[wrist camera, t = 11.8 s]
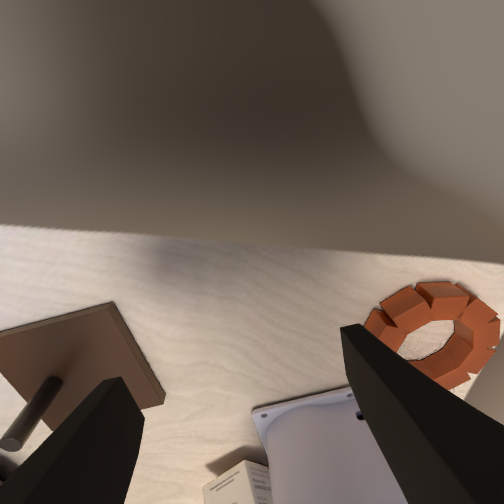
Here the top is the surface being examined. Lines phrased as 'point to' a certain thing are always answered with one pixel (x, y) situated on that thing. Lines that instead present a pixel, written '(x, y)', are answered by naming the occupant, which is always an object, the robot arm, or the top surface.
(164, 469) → the top surface
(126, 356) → the post stand
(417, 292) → the ring
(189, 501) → the top surface
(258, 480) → the ink box
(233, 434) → the top surface
